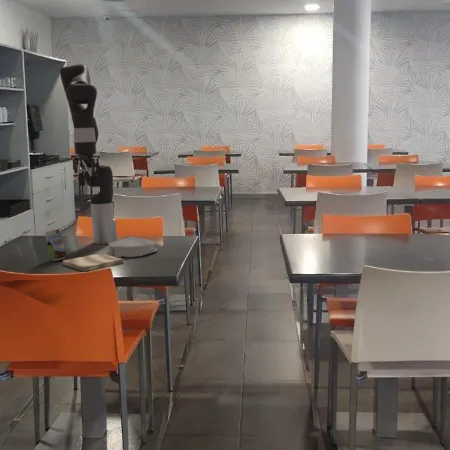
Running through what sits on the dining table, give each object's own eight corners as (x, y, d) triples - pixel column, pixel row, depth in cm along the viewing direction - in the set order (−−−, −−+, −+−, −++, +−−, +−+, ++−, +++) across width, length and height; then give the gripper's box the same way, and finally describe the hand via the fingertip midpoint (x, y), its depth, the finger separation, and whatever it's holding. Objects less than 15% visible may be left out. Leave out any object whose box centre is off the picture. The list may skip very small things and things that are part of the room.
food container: (96, 255, 251) (95, 238, 250) (136, 245, 265) (134, 229, 264) (128, 262, 237) (127, 244, 236) (168, 251, 252) (167, 234, 250)
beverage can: (62, 261, 238) (59, 230, 236) (44, 261, 240) (41, 230, 238) (69, 258, 244) (67, 227, 242) (52, 258, 246) (49, 227, 244)
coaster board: (101, 256, 244) (100, 253, 244) (123, 263, 232) (123, 259, 232) (63, 264, 234) (62, 260, 234) (84, 271, 222) (83, 267, 222)
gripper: (104, 140, 223) (107, 186, 226) (84, 140, 234) (87, 184, 236) (85, 141, 218) (88, 188, 221) (65, 141, 229) (69, 186, 231)
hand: (87, 186), depth 229 cm, fingers open, 8 cm apart
